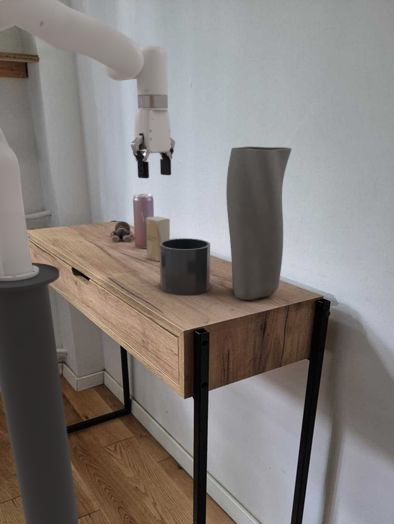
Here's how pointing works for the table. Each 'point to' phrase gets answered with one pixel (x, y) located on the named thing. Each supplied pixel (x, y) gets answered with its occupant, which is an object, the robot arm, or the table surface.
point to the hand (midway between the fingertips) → (155, 176)
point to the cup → (184, 266)
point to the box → (156, 235)
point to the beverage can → (142, 217)
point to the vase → (256, 218)
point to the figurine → (121, 232)
